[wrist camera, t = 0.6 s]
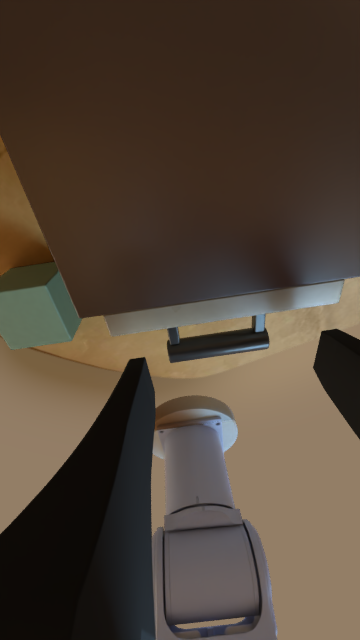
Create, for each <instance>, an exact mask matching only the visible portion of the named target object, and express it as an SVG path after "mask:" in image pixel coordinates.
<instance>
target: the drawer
mask: <svg viewBox="0 0 360 640" xmlns="http://www.w3.org/2000/svg"><path fill="white" fill-rule="evenodd" d="M343 284H344V279H341V280H334V281H327V282H321V283H314V284H307V285H301V286H294V287H287V288H280V289H274V290H267V291H260V292H254V293H247V294H240V295H234V296H227V297H220V298H214V299H207V300H200V301H194V302H187V303H180V304H173V305H167V306H160V307H153V308H147V309H140V310H133V311H127V312H120V313H113V314H107V315H103V316H104V319H105V322H106V325H107V327H108V330H109V333H110V336H119V335H126V334H132V333H139V332H146V331H153V330H159V329H166V328H167V331H168V336H169V340H168V341H167V349H168V356H169V361H170V363H174V362H181V361H188V360H195V359H202V358H208V357H215V356H222V355H229V354H236V353H243V352H250V351H256V350H263V349H267V348H268V347H269V336H268V332H267V330H266V328H265V314H267V313H274V312H281V311H288V310H294V309H301V308H308V307H315V306H321V305H328V304H335V303H338V302H339V299H340V296H341V292H342V288H343ZM247 316H252V328H248V329H241V330H234V331H227V332H221V333H214V334H207V335H200V336H193V337H187V338H180V337H179V331H178V327H180V326H186V325H193V324H200V323H207V322H213V321H220V320H227V319H234V318H240V317H247Z"/></svg>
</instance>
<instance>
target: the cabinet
mask: <svg viewBox="0 0 360 640" xmlns="http://www.w3.org/2000/svg"><path fill="white" fill-rule="evenodd" d="M0 135H1V137H2V140H3V142H4V144H5V147H6V149H7V151H8V154H9V156H10V158H11V161H12V163H13V165H14V168H15V170H16V172H17V175H18V177H19V179H20V182H21V184H22V186H23V189H24V191H25V193H26V196H27V198H28V200H29V203H30V205H31V207H32V210H33V212H34V214H35V217H36V219H37V221H38V224H39V226H40V228H41V231H42V233H43V235H44V238H45V240H46V242H47V245H48V247H49V249H50V252H51V254H52V256H53V259H54V261H55V263H56V266H57V268H58V270H59V273H60V275H61V277H62V280H63V282H64V284H65V287H66V289H67V291H68V294H69V296H70V298H71V301H72V303H73V305H74V308H75V310H76V312H77V314H78V317H79V318H86V317H93V316H100V315H107V314H113V313H120V312H127V311H133V310H140V309H147V308H153V307H160V306H167V305H173V304H180V303H187V302H194V301H200V300H207V299H214V298H220V297H227V296H234V295H240V294H247V293H254V292H260V291H267V290H274V289H280V288H287V287H294V286H301V285H307V284H314V283H321V282H327V281H334V280H341V279H347V278H354V277H360V0H0Z"/></svg>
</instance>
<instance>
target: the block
mask: <svg viewBox="0 0 360 640" xmlns="http://www.w3.org/2000/svg"><path fill="white" fill-rule="evenodd" d="M81 320H82V318H79V317H78V314H77V312H76V310H75V308H74V305H73V303H72V301H71V298H70V296H69V294H68V291H67V289H66V287H65V284H64V282H63V280H62V277H61V275H60V273H59V270H58V268H57V266H56V263H55V262H51V263H44V264H38V265H31V266H25V267H18V268H11V269H9V270H8V271H7V272H6V273H4V274H3V275H2V276H0V334H1V336H2V337H3V339H4V340H5V342H6V343H7V345H8V346H9V348H10V349H11V350H14V349H21V348H28V347H35V346H41V345H48V344H55V343H62V342H68V341H72V339H73V337H74V335H75V333H76V331H77V329H78V327H79V325H80V323H81Z"/></svg>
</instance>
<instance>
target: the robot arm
mask: <svg viewBox="0 0 360 640" xmlns="http://www.w3.org/2000/svg"><path fill="white" fill-rule="evenodd" d="M313 368H314V370H315V372H316V374H317V376H318V378H319V380H320V382H321V384H322V386H323V388H324V389H325V391H326V392H327V394H328V395H329V397H330V398H331V400H332V401H333V403H334V404H335V405H336V407H337V408H338V410H339V411H340V413H341V414H342V415H343V417H344V418H345V420H346V421H347V422H348V424H349V425H350V427H351V428H352V429H353V431H354V432H355V434H356V435H357V436H358V438H359V439H360V340H359V339H357V338H355V337H353V336H351V335H349V334H347V333H345V332H343V331H340V330H338V329H333V330H326V331H322V332H321V336H320V340H319V345H318V349H317V353H316V358H315V362H314V366H313ZM154 428H155V391H154V387H153V384H152V380H151V376H150V373H149V369H148V366H147V362H146V359H145V357H143V358H136V359H130V360H129V362H128V363H127V366H126V368H125V370H124V372H123V374H122V376H121V378H120V380H119V381H118V383H117V385H116V387H115V389H114V391H113V392H112V394H111V396H110V398H109V399H108V401H107V403H106V404H105V406H104V408H103V409H102V411H101V412H100V414H99V416H98V417H97V419H96V421H95V422H94V423H93V425H92V426H91V428H90V429H89V431H88V432H87V434H86V435H85V437H84V438H83V439H82V441H81V442H80V443H79V445H78V446H77V448H76V449H75V450H74V452H73V453H72V454H71V455H70V457H69V458H68V459H67V461H66V462H65V463H64V464H63V465H62V467H61V468H60V469H59V470H58V472H57V473H56V474H55V475H54V477H53V478H52V479H51V480H50V481H49V482H48V483H47V485H46V486H45V487H44V488H43V489H42V490H41V491H40V492H39V494H38V495H37V496H36V497H35V498H34V499H33V500H32V501H31V502H30V503H29V505H28V506H27V507H26V508H25V509H24V510H23V511H22V512H21V513H20V514H19V515H18V517H17V518H16V519H15V520H14V521H13V522H12V523H11V524H10V525H9V526H8V527H7V528H6V529H5V530H4V531H3V532H2V533H1V534H0V640H277V636H276V635H277V626H276V621H275V616H274V610H273V604H272V590H271V581H270V575H269V569H268V565H267V560H266V556H265V552H264V549H263V546H262V543H261V540H260V537H259V535H258V533H257V531H256V529H255V528H254V527H253V526H252V525H251V523H250V522H249V521H248V520H242V517H241V513H240V509H235V506H234V501H233V497H232V492H231V487H230V483H229V478H228V473H227V469H226V464H225V459H224V449H223V433H222V420H221V417H219V416H217V417H210V418H203V419H196V420H189V421H182V422H175V423H168V424H161V425H158V426H157V432H158V435H159V438H160V442H161V445H162V448H163V451H164V454H165V497H166V515H165V516H164V525H165V526H164V528H165V531H164V529H163V527H158V528H157V531H156V532H155V533H154V535H153V536H152V532H151V467H152V454H153V441H154ZM240 617H245V619H244V620H242V621H241V622H238V623H236V624H229V625H220V626H211V627H202V628H193V629H181V628H178V627H176V626H175V625H177V624H187V623H195V622H204V621H214V620H222V619H231V618H240Z"/></svg>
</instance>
